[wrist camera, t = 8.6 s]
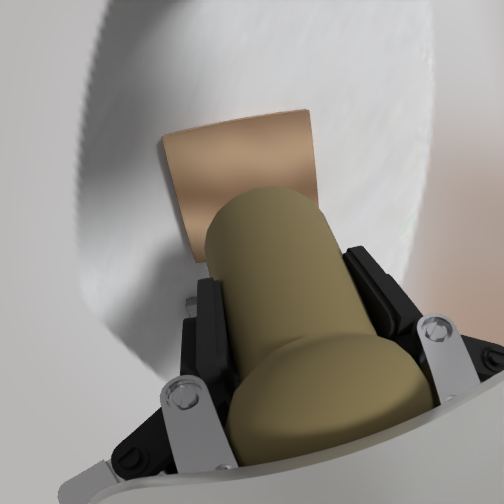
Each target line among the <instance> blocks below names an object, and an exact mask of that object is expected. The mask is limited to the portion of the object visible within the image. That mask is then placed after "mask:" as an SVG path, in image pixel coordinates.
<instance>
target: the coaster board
mask: <svg viewBox="0 0 504 504" xmlns="http://www.w3.org/2000/svg"><path fill="white" fill-rule="evenodd" d="M162 141H163V145H164V149H165V153H166V157H167V161H168V165H169V169H170V173H171V177H172V180H173V184H174V188H175V192H176V196H177V199H178V203H179V207H180V210H181V214H182V217H183V221H184V224H185V228H186V231H187V235H188V238H189V242H190V245H191V249H192V252H193V255H194V259H195V262H196V263H201V262H206V257H205V251H204V245H205V239H206V233H207V229H208V227H209V226H210V224H211V222H212V220H213V218H214V217H215V215H216V213H217V212H218V211H219V210H220V209H221V208H222V207H223V206H225V205H226V204H227V203H228V202H229V201H230V200H231V199H232V198H234V197H236V196H238V195H241V194H243V193H245V192H247V191H249V190H252V189H256V188H264V187H272V186H276V187H281V188H286V189H291V190H295V191H297V192H299V193H301V194H302V195H304V196H306V197H307V198H309V199H311V200H312V201H313V202H314V203H315V205H316V206H317V207H318V208H319V205H318V192H317V180H316V168H315V158H314V148H313V139H312V130H311V121H310V113H309V110H306V109H303V110H294V111H286V112H278V113H271V114H264V115H258V116H252V117H246V118H240V119H234V120H229V121H224V122H219V123H214V124H209V125H204V126H200V127H195V128H191V129H187V130H182V131H178V132H174V133H170V134H166V135H164V136H162Z"/></svg>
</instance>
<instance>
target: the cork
mask: <svg viewBox="0 0 504 504" xmlns="http://www.w3.org/2000/svg"><path fill="white" fill-rule="evenodd" d="M204 251H205V257H206V262H207V266H208V270H209V274H210V278H211V277H213V279H214V281H216V280H219V281H220V285H221V292H222V299H223V306H224V313H225V320H226V327H227V333H228V340H229V345H230V349H231V353H232V357H233V361H234V365H235V368H236V372H237V375H238V378H239V382H240V386H239V387H238V388H237V390H236V391H235V392H234V395H233V398H232V401H231V404H230V407H229V411H228V416H227V420H226V425H225V432H226V434H227V437H228V440H229V443H230V445H231V448H232V450H233V452H234V455H235V457H236V459H237V462H238V464H239V466H240V467H246V466H253V465H259V464H264V463H270V462H275V461H280V460H285V459H290V458H294V457H298V456H303V455H307V454H311V453H314V452H318V451H322V450H326V449H329V448H333V447H336V446H339V445H343V444H346V443H349V442H352V441H355V440H358V439H361V438H364V437H367V436H370V435H373V434H375V433H378V432H381V431H383V430H386V429H388V428H391V427H394V426H396V425H398V424H401V423H403V422H406V421H408V420H410V419H413V418H415V417H417V416H419V415H421V414H424V413H426V412H428V411H430V410H432V409H434V407H435V405H434V400H433V396H432V392H431V388H430V384H429V382H428V381H427V379H426V377H425V376H424V374H423V373H422V371H421V369H420V368H419V366H418V365H417V364H416V362H415V361H414V360H413V358H412V357H411V356H410V355H409V354H408V353H407V352H406V351H405V350H403V349H402V348H401V347H400V346H399V345H398V344H396V343H395V342H393V341H390V340H387V339H385V338H382V337H379V336H377V334H376V331H375V329H374V326H373V324H372V321H371V319H370V316H369V314H368V312H367V309H366V307H365V304H364V302H363V300H362V297H361V295H360V292H359V290H358V288H357V286H356V283H355V281H354V279H353V277H352V275H351V273H350V271H349V269H348V267H347V265H346V263H345V261H344V259H343V254H342V252H341V250H340V248H339V246H338V243H337V241H336V239H335V237H334V235H333V233H332V231H331V229H330V227H329V225H328V223H327V221H326V218H325V216H324V214H323V213H322V212H321V211H320V209H319V208H318V207H317V206H316V205H315V203H314V202H313V201H312V200H311V199H309V198H307V197H306V196H304V195H302V194H301V193H299V192H297V191H295V190H291V189H286V188H281V187H276V186H272V187H264V188H256V189H252V190H249V191H247V192H245V193H243V194H241V195H238V196H236V197H234V198H232V199H231V200H230V201H229V202H228V203H227V204H226V205H225V206H223V207H222V208H221V209H220V210H219V211H218V212H217V213H216V215H215V217H214V218H213V220H212V222H211V224H210V226H209V227H208V229H207V233H206V239H205V245H204Z"/></svg>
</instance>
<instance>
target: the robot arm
mask: <svg viewBox="0 0 504 504" xmlns="http://www.w3.org/2000/svg"><path fill="white" fill-rule="evenodd" d="M343 259H344V261H345V263H346V265H347V267H348V269H349V271H350V273H351V275H352V277H353V279H354V281H355V283H356V286H357V288H358V290H359V292H360V295H361V297H362V300H363V302H364V304H365V307H366V309H367V312H368V314H369V316H370V319H371V321H372V324H373V326H374V329H375V331H376V334H377V336H379V337H382V338H385V339H387V340H390V341H393V342H395V343H396V344H398V345H399V346H400V347H401V348H402V349H403V350H405V351H406V352H407V353H408V354H409V355H410V356H411V357H412V358H413V360H414V361H415V362H416V364H417V365H418V366H419V368H420V369H421V371H422V373H423V374H424V376H425V377H426V379H427V381H428V382H429V384H430V388H431V392H432V396H433V400H434V405H435V407H434V409H432V410H430V411H428V412H426V413H424V414H421V415H419V416H417V417H415V418H413V419H410V420H408V421H406V422H403V423H401V424H398V425H396V426H394V427H391V428H388V429H386V430H383V431H381V432H378V433H375V434H373V435H370V436H367V437H364V438H361V439H358V440H355V441H352V442H349V443H346V444H343V445H339V446H336V447H333V448H329V449H326V450H322V451H318V452H314V453H311V454H307V455H303V456H298V457H294V458H290V459H285V460H280V461H275V462H270V463H264V464H259V465H253V466H246V467H240V466H239V464H238V462H237V459H236V457H235V455H234V452H233V450H232V448H231V445H230V443H229V440H228V437H227V434H226V432H225V425H226V420H227V416H228V411H229V407H230V404H231V401H232V398H233V395H234V392H235V391H236V390H237V388H238V387H239V386H240V382H239V378H238V375H237V372H236V368H235V365H234V361H233V357H232V353H231V349H230V345H229V340H228V333H227V327H226V320H225V313H224V306H223V299H222V292H221V285H220V281H219V280H216V281H214V279H213V277H211V278H206V279H201V280H198V284H197V317H192V318H186V319H184V320H183V329H182V346H181V365H180V376H178V377H176V378H174V379H172V380H170V381H169V382H168V383H167V384H166V385H165V386H164V387H163V389H162V391H161V394H160V402H161V407H160V408H159V409H158V410H157V411H156V412H155V413H154V414H153V415H152V416H150V417H149V418H148V419H147V420H146V421H145V422H144V423H143V424H141V425H140V426H139V427H138V428H137V429H136V430H135V431H134V432H133V433H131V434H130V435H129V436H128V437H127V438H126V439H124V440H123V441H122V442H121V443H120V444H119V445H118V446H117V447H116V448H115V449H114V451H113V453H112V456H111V459H110V460H108V461H105V460H102V461H100V462H99V463H97V464H95V465H94V466H92V467H90V468H89V469H87V470H86V471H84V472H82V473H80V474H78V475H77V476H75V477H73V478H71V479H70V480H68V481H66V482H65V483H63V484H62V485H61V487H60V488H59V491H58V500H59V503H60V504H504V347H503V346H501V345H498V344H495V343H491V342H487V341H483V340H479V339H476V338H472V337H468V336H464V335H460V334H459V331H458V329H457V327H456V325H455V324H454V322H453V321H452V320H451V319H449V318H448V317H446V316H444V315H441V314H428V315H425V316H423V315H422V314H421V313H420V311H419V310H418V309H417V307H416V306H415V305H414V303H413V302H412V301H411V300H410V298H409V297H408V296H407V295H406V293H405V292H404V291H403V290H402V288H401V287H400V286H399V285H398V284H397V282H396V281H395V280H394V279H393V278H392V276H390V275H389V274H386V273H385V272H384V270H383V269H382V268H381V267H380V266H379V265H378V263H377V262H376V261H375V260H374V259H373V257H372V256H371V255H370V254H369V253H368V252H367V251H366V249H365V248H364V247H363V246H357V247H352V248H348V249H347V252H346V253H344V254H343Z"/></svg>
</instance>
